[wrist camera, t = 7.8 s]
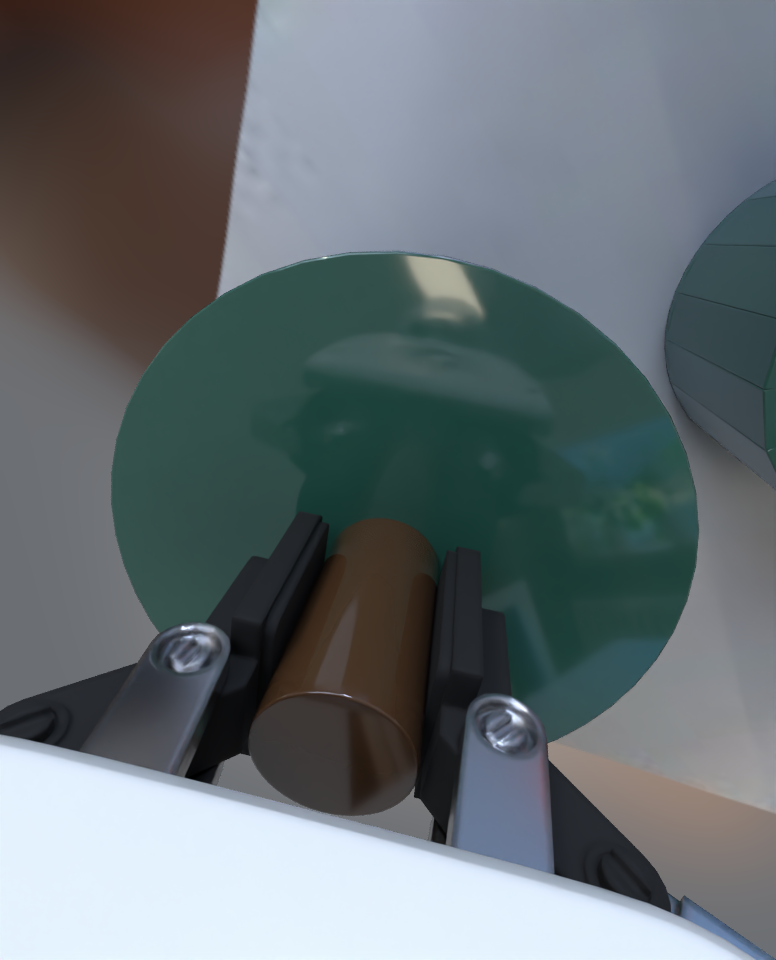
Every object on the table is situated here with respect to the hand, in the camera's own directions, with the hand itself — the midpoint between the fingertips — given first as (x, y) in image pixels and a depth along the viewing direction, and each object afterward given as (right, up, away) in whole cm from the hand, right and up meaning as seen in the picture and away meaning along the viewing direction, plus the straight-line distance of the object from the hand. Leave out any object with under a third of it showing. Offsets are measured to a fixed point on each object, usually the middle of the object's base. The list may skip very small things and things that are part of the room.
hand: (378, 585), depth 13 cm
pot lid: (0, +1, +1) cm, 1 cm away
